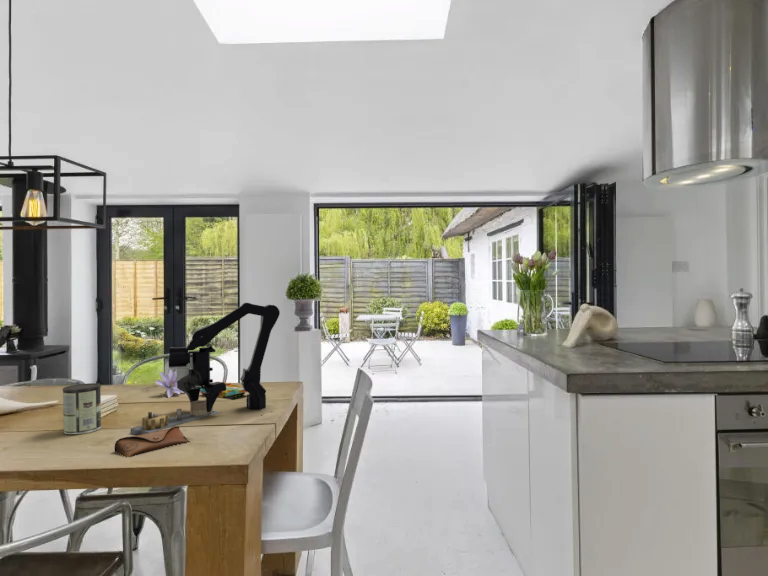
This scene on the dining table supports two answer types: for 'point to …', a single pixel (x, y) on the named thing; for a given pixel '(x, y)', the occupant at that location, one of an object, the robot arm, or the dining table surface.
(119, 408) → the dining table surface
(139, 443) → the sunglasses case
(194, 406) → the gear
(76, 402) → the coffee can
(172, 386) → the water lily
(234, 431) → the dining table surface
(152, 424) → the gear board
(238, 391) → the puzzle game
